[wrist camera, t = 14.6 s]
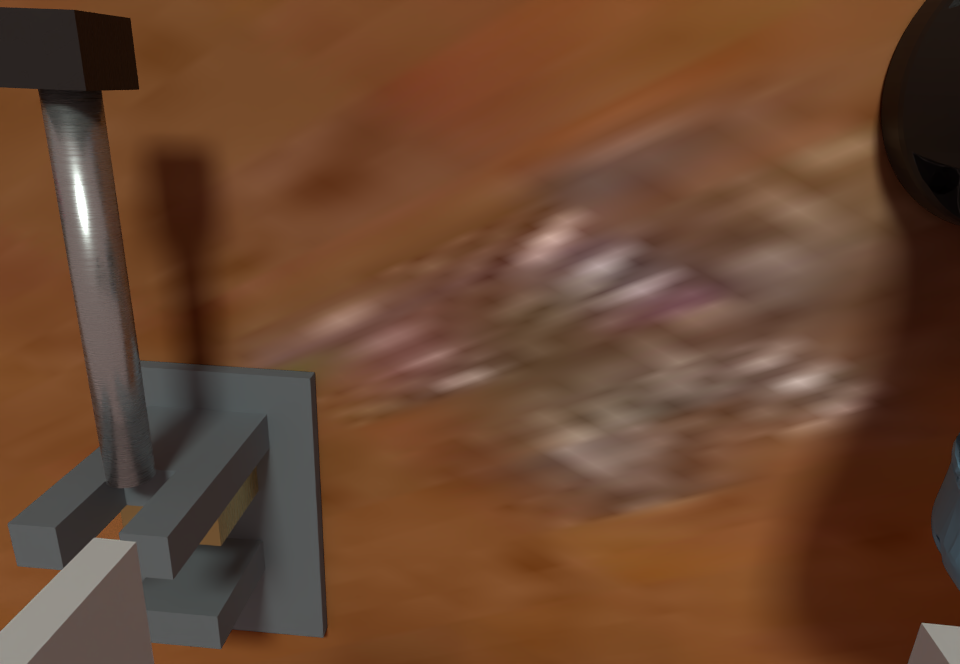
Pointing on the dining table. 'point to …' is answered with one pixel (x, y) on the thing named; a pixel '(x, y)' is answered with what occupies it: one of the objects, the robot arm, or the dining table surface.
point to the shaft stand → (207, 506)
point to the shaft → (89, 207)
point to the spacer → (225, 519)
